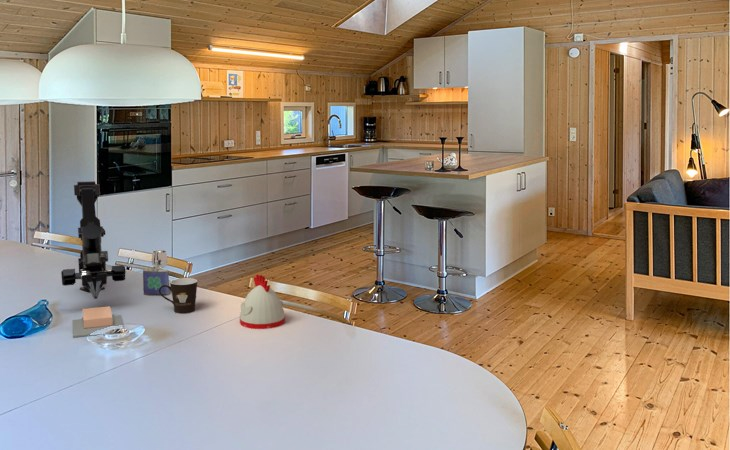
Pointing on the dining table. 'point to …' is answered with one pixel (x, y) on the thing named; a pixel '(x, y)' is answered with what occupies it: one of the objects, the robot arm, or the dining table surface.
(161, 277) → the flask
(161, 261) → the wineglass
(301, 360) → the dining table surface
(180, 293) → the coffee mug
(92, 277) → the robot arm
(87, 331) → the mat
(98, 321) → the tile
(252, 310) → the kitchen timer
